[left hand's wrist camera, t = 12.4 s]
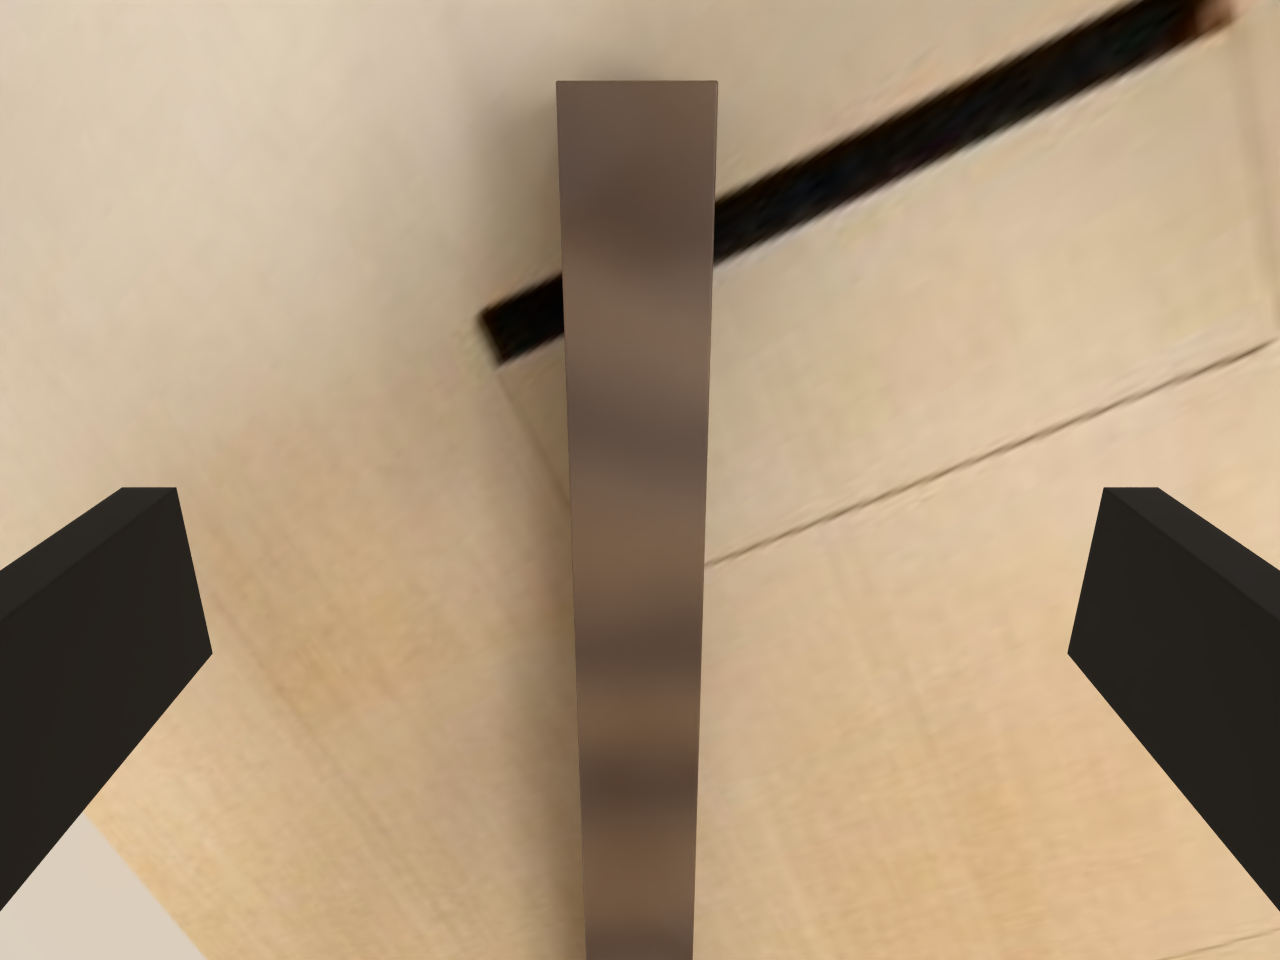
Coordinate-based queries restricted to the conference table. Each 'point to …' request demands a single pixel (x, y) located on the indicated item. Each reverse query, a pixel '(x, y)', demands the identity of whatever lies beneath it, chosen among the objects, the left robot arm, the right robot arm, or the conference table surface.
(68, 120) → the conference table surface
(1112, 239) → the conference table surface
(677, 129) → the bar
